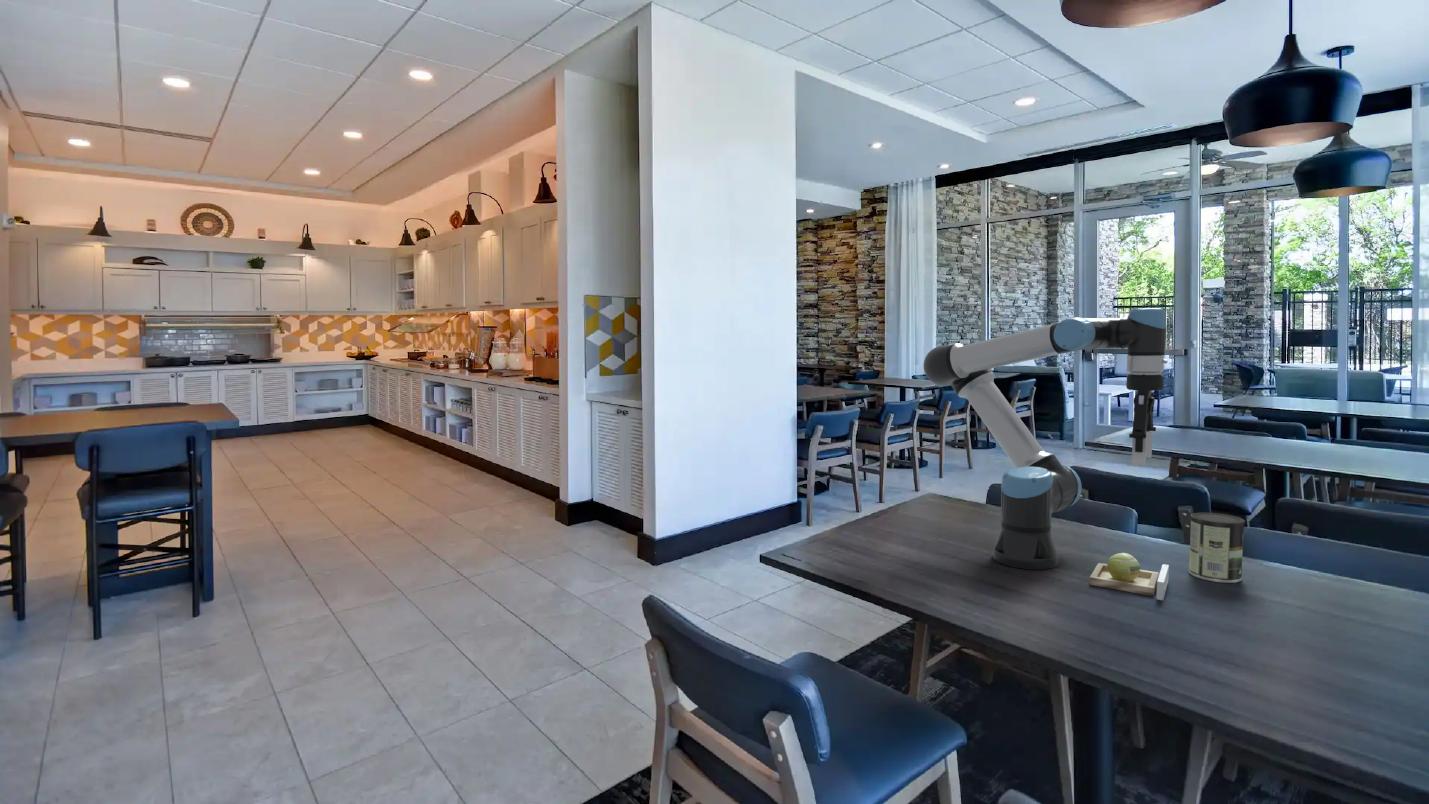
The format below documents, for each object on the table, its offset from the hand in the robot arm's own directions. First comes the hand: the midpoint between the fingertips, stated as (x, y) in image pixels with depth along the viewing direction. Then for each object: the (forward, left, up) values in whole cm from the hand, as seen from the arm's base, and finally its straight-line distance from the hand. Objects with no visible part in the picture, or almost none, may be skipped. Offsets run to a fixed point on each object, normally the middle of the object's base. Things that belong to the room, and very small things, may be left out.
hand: (1141, 461), depth 164 cm
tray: (-2, -12, -27) cm, 29 cm away
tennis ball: (-2, -12, -26) cm, 29 cm away
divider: (+6, -13, -27) cm, 30 cm away
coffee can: (+15, +5, -27) cm, 31 cm away
